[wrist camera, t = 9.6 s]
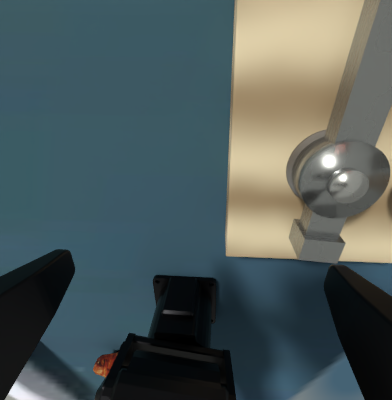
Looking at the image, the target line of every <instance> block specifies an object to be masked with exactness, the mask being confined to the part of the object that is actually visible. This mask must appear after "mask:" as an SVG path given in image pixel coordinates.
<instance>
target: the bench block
mask: <svg viewBox="0 0 392 400" xmlns="http://www.w3.org/2000/svg"><path fill="white" fill-rule="evenodd" d="M364 1H365V0H235V8H234V33H233V57H232V82H231V107H230V132H229V157H228V182H227V207H226V232H225V238H226V256H236V257H259V258H283V259H298V258H297V256H296V253H295V251H294V249H293V247H292V244H291V242H290V240H289V234H290V231H291V227H292V223H293V220H294V219H300V217H301V214H302V211H303V207H304V204H305V202H304V201H303V199H302V198H301V197H300V195H299V194H298V192H297V191H296V189H295V187H294V185H293V182H292V168H293V165H294V162H295V160H296V158H297V157H298V155H299V154H300V153H301V151H302V150H303V149H304V148H305V147H306V146H308V145H309V144H310V143H312V142H313V141H315V140H317V139H319V138H321V137H324V136H325V133H326V129H327V126H328V123H329V119H330V116H331V112H332V109H333V106H334V102H335V99H336V95H337V92H338V89H339V85H340V82H341V79H342V75H343V72H344V68H345V65H346V62H347V58H348V55H349V51H350V48H351V45H352V41H353V38H354V34H355V31H356V28H357V24H358V21H359V18H360V14H361V11H362V7H363V4H364ZM375 147H376V148H378V149H379V150H381V151H382V152H383V153H384V155H385V156H386V157H387V159H388V161H389V165H390V179H389V183H388V185H387V188H386V190H385V191H384V193H383V194H382V196H381V197H380V198H379V199H378V200H377V201H376V202H375V203H374V204H373V205H372V206H370V207H369V208H368V209H366V210H364V211H363V212H360V213H358V214H356V215H353V216H350V217H347V218H346V221H345V223H344V226H343V228H342V231H341V233H340V236H341V238H342V239H343V240H344V242H345V243H346V244H345V246H344V249H343V251H342V253H341V256H340V258H339V260H338V261H354V262H377V263H392V106H391V108H390V111H389V113H388V116H387V118H386V121H385V123H384V126H383V128H382V131H381V133H380V136H379V138H378V141H377V143H376V146H375Z"/></svg>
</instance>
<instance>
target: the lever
mask: <svg viewBox="0 0 392 400" xmlns="http://www.w3.org/2000/svg"><path fill="white" fill-rule="evenodd" d="M391 106H392V0H365V1H364V4H363V7H362V11H361V14H360V18H359V21H358V24H357V28H356V31H355V34H354V38H353V41H352V45H351V48H350V51H349V55H348V58H347V62H346V65H345V68H344V72H343V75H342V79H341V82H340V85H339V89H338V92H337V95H336V99H335V102H334V106H333V109H332V112H331V116H330V119H329V123H328V126H327V129H326V133H325V136H324V137H321V138H319V139H317V140H315V141H313V142H312V143H310V144H309V145H308V146H306V147H305V148H304V149H303V150H302V151H301V153H300V154H299V155H298V157H297V158H296V160H295V162H294V165H293V168H292V182H293V185H294V187H295V189H296V191H297V192H298V194H299V195H300V197H301V198H302V199H303V201H304V202H305V204H304V207H303V211H302V214H301V217H300V219H294V220H293V223H292V227H291V231H290V234H289V240H290V242H291V244H292V247H293V249H294V251H295V253H296V256H297V258H298V260H306V261H316V262H326V263H336V264H337V263H338V260H339V258H340V256H341V253H342V251H343V249H344V246H345V244H346V243H345V242H344V240H343V239H342V238H341V236H340V233H341V231H342V228H343V226H344V223H345V221H346V218H347V217H350V216H353V215H356V214H358V213H360V212H363V211H364V210H366V209H368V208H369V207H370V206H372V205H373V204H374V203H375V202H376V201H377V200H378V199H379V198H380V197H381V196H382V194H383V193H384V191H385V190H386V188H387V185H388V183H389V179H390V165H389V161H388V159H387V157H386V156H385V155H384V153H383V152H382V151H381V150H379V149H378V148H376V147H375V146H376V143H377V141H378V138H379V136H380V133H381V131H382V128H383V126H384V123H385V121H386V118H387V116H388V113H389V111H390V108H391Z"/></svg>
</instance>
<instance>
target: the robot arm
mask: <svg viewBox="0 0 392 400" xmlns="http://www.w3.org/2000/svg"><path fill="white" fill-rule="evenodd" d="M74 273H75V266H74V262H73V259H72V255H71V252H70V251H69V250H63V249H57V250H54V251H52V252H50V253H48V254H46V255H44V256H42V257H40V258H38V259H36V260H34V261H32V262H30V263H27V264H25V265H23V266H21V267H19V268H17V269H15V270H13V271H11V272H9V273H7V274H5V275H3V276H0V400H5V398H6V396H7V395H8V393H9V391H10V389H11V388H12V386H13V384H14V383H15V381H16V379H17V378H18V376H19V374H20V373H21V371H22V369H23V368H24V366H25V364H26V363H27V361H28V359H29V357H30V356H31V354H32V352H33V351H34V349H35V347H36V346H37V344H38V342H39V341H40V339H41V337H42V336H43V334H44V332H45V331H46V329H47V327H48V325H49V324H50V322H51V320H52V319H53V317H54V315H55V313H56V311H57V309H58V307H59V305H60V303H61V301H62V299H63V297H64V295H65V293H66V290H67V288H68V286H69V284H70V282H71V280H72V278H73V276H74ZM158 280H159V281H158ZM153 286H154V293H155V300H156V309H155V313H154V317H153V320H152V324H151V327H150V331H149V334H148V337H143V336H138V335H135V334H133V333H129V334H128V336H127V338H126V341H125V342H123V344H122V345H121V347H120V350H119V352H118V354H117V356H116V358H115V360H114V362H113V364H112V367H111V369H110V371H109V373H108V375H107V376H106V378H105V379H104V381H103V382H102V384H101V385H100V387H99V389H98V390H97V392H96V395H95V400H236V394H235V386H234V379H233V372H232V364H231V357H230V351H229V350H224V349H223V351H222V350H217V349H211V348H210V341H211V324H213V323H215V313H216V280H215V279H213V278H202V277H183V276H163V275H156V276H155V277H154V279H153ZM324 291H325V294H326V297H327V301H328V304H329V307H330V311H331V314H332V317H333V321H334V324H335V327H336V330H337V333H338V336H339V339H340V342H341V344H342V347H343V349H344V351H345V354H346V356H347V359H348V361H349V363H350V366H351V368H352V370H353V373H354V375H355V378H356V380H357V382H358V385H359V387H360V390H361V392H362V394H363V397H364V399H365V400H392V296H390V295H389V294H387V293H386V292H384V291H383V290H381V289H380V288H378V287H377V286H375V285H374V284H372V283H371V282H369V281H368V280H366V279H365V278H363V277H362V276H360V275H359V274H357V273H356V272H354V271H353V270H351V269H349V268H348V267H346V266H344V265H330V267H329V269H328V272H327V275H326V278H325V281H324Z"/></svg>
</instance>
